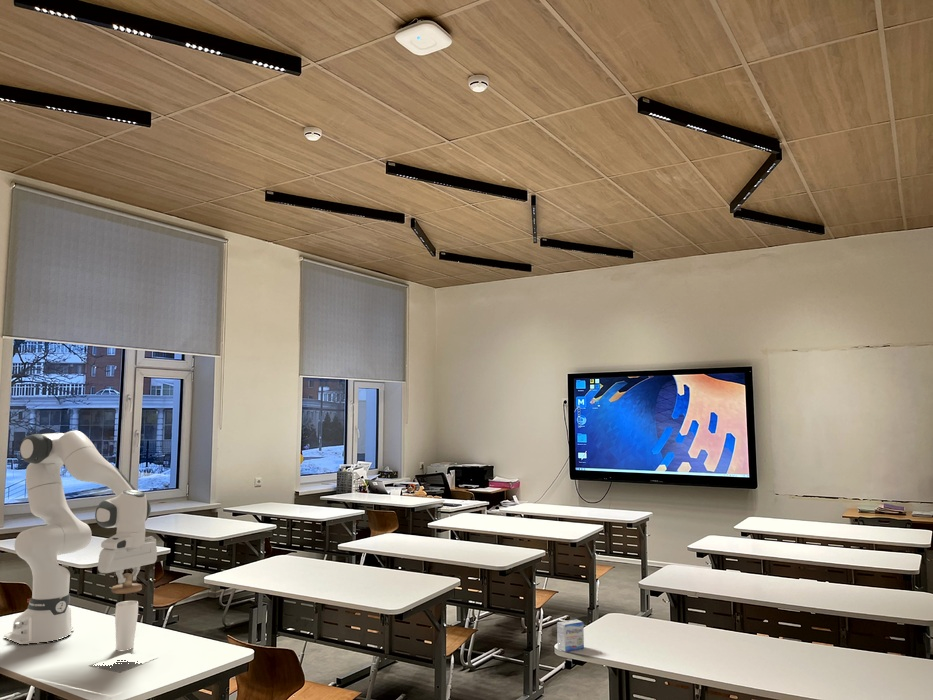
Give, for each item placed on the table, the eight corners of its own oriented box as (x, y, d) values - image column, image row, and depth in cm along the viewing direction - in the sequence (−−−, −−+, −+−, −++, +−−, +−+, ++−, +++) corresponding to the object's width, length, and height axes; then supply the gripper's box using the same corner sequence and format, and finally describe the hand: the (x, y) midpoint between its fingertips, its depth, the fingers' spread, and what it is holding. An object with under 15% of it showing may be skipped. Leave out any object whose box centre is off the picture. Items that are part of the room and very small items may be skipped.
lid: (105, 591, 221) (106, 575, 221) (128, 585, 229) (129, 570, 229) (124, 595, 217) (125, 578, 217) (147, 588, 225) (148, 573, 226)
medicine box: (565, 652, 219) (564, 625, 220) (557, 648, 223) (556, 621, 224) (584, 648, 223) (583, 621, 224) (576, 645, 227) (575, 618, 228)
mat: (88, 667, 206) (88, 665, 206) (127, 653, 218) (127, 652, 218) (120, 673, 200) (120, 672, 200) (158, 659, 213) (158, 657, 213)
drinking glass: (120, 654, 217) (123, 606, 219) (108, 650, 221) (111, 603, 222) (140, 648, 223) (142, 602, 225) (128, 645, 226) (131, 599, 228)
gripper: (149, 534, 235) (146, 574, 234) (96, 543, 217) (93, 587, 215) (162, 536, 233) (159, 576, 231) (109, 545, 214) (106, 589, 213)
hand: (127, 581), depth 223 cm, fingers closed on lid, 3 cm apart
